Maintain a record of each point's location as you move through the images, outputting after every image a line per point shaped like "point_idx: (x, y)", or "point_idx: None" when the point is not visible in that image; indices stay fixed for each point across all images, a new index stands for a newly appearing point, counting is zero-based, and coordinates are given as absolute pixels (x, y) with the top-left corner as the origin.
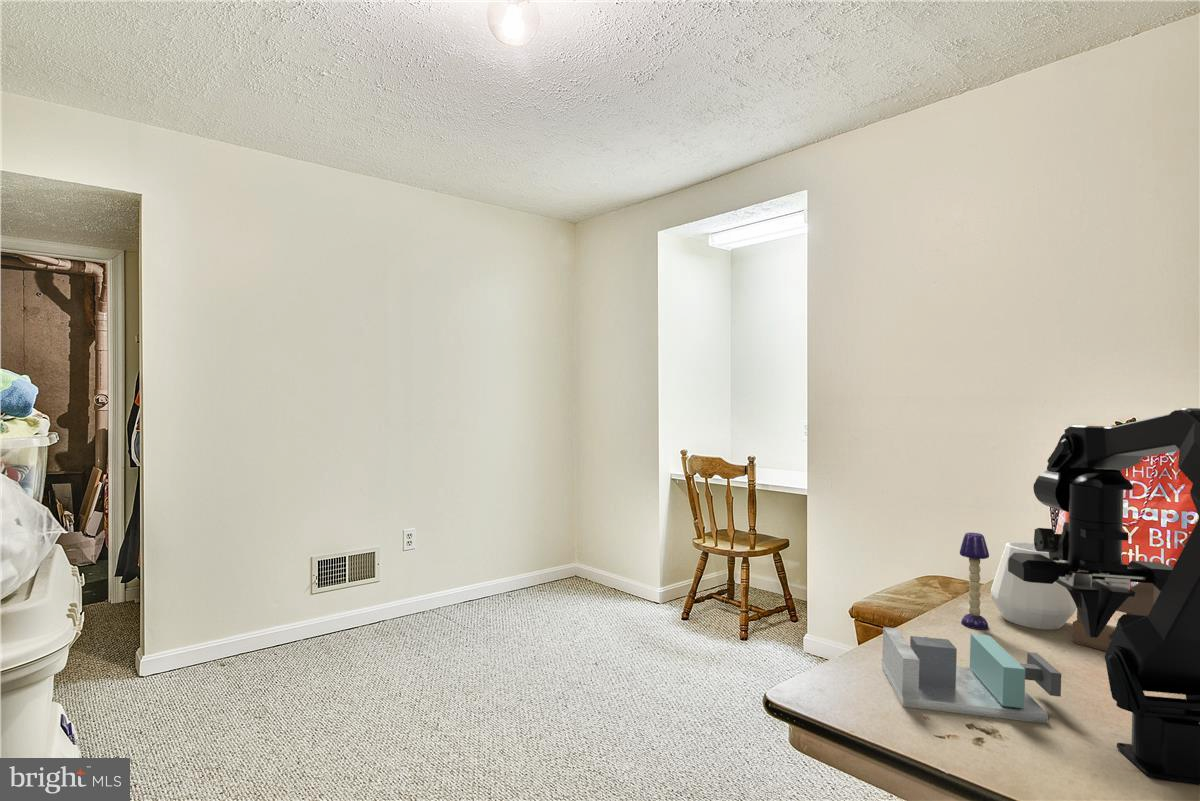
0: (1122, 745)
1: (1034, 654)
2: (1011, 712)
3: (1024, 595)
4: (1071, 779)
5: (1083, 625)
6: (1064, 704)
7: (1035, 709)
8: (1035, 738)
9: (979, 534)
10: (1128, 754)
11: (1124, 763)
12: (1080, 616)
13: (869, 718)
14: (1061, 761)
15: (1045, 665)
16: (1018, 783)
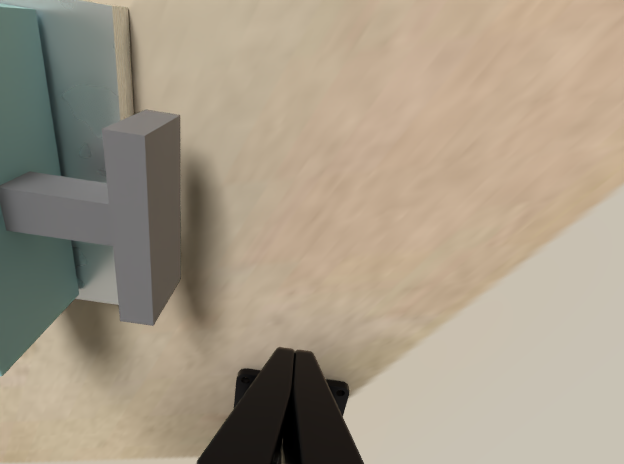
0: (248, 376)
1: (124, 157)
2: None
3: None
4: (106, 440)
5: (256, 378)
6: (245, 188)
7: (111, 287)
8: (92, 345)
9: None
10: (234, 405)
11: (222, 404)
12: (228, 422)
13: None
14: (111, 404)
15: (126, 266)
16: (21, 450)
